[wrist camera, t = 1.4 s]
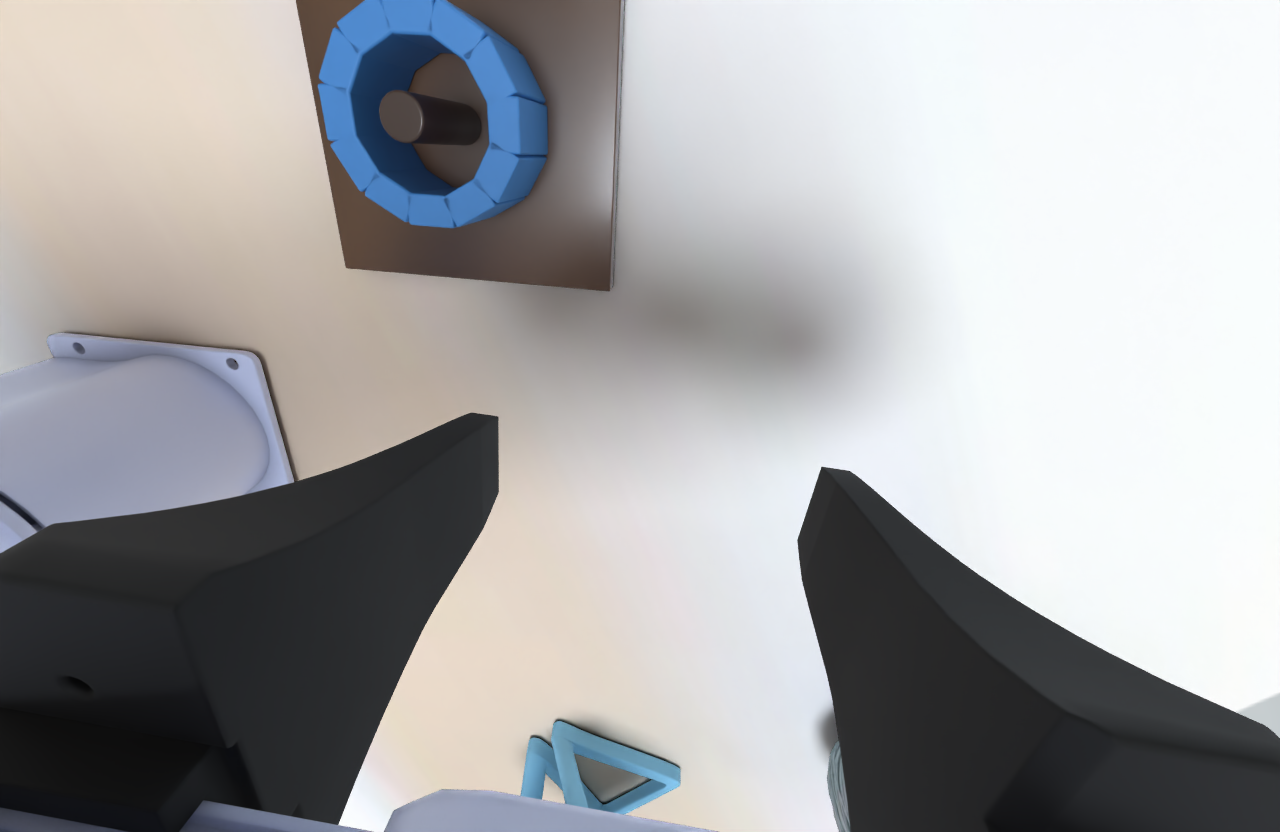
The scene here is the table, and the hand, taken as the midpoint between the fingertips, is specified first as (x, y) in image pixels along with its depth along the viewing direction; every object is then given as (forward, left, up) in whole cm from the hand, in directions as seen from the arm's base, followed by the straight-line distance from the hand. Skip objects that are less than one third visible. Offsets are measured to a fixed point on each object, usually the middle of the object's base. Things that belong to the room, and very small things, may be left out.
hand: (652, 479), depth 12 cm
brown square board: (-7, +7, -10) cm, 14 cm away
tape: (-7, +7, -9) cm, 14 cm away
